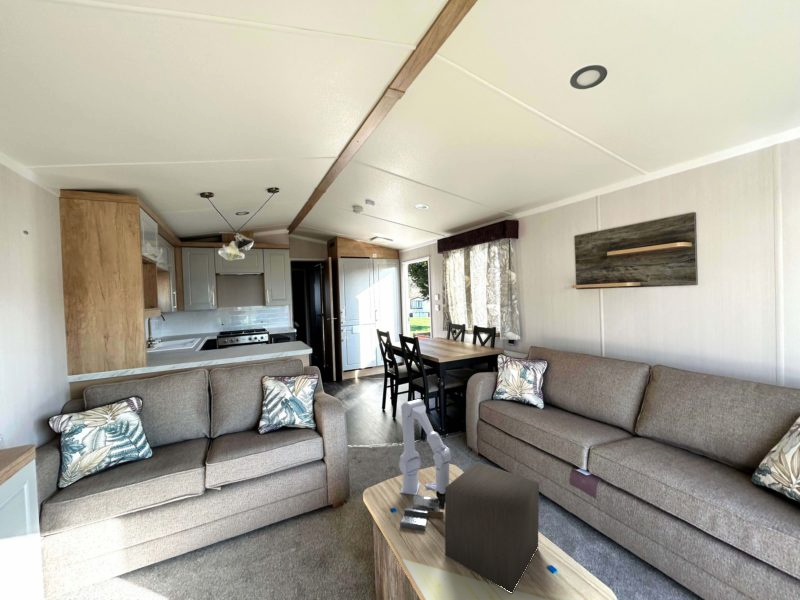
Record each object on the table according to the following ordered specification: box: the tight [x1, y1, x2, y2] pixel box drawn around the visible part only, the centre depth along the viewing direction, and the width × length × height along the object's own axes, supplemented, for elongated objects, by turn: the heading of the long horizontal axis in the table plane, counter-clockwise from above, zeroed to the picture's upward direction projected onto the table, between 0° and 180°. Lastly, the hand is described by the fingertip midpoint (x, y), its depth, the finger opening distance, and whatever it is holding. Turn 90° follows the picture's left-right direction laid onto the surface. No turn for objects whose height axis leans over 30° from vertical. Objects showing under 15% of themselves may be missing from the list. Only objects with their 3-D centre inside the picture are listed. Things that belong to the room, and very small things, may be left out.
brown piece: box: [427, 503, 445, 519], centre depth 148 cm, size 8×7×2 cm
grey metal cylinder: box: [412, 494, 440, 512], centre depth 149 cm, size 11×5×5 cm, turn 77°
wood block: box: [444, 461, 540, 593], centre depth 125 cm, size 25×25×25 cm
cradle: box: [399, 507, 429, 532], centre depth 141 cm, size 9×10×2 cm
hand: (442, 507), depth 148 cm, fingers closed
